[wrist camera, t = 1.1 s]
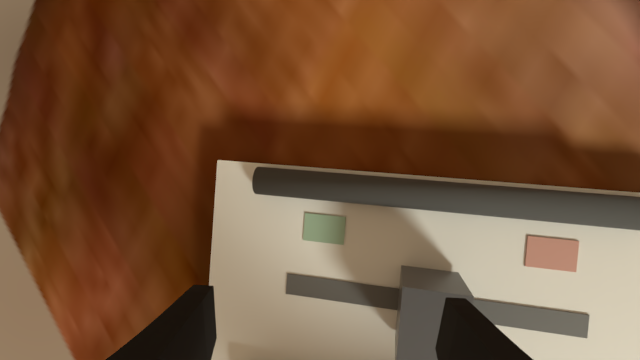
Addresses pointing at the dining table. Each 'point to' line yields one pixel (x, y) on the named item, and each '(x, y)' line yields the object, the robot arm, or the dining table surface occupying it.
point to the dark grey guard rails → (453, 197)
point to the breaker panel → (417, 251)
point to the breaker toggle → (423, 309)
